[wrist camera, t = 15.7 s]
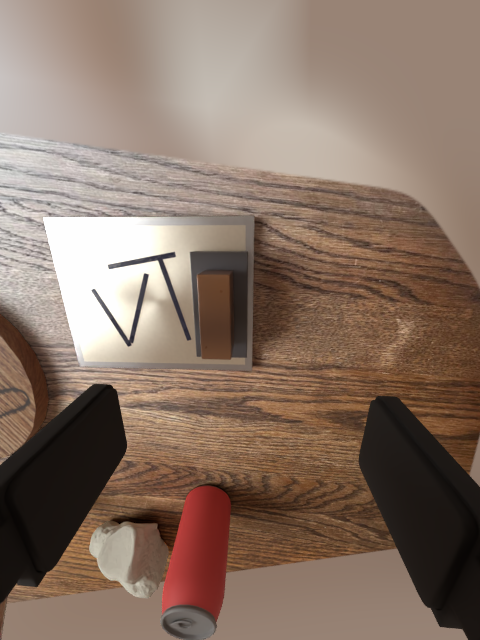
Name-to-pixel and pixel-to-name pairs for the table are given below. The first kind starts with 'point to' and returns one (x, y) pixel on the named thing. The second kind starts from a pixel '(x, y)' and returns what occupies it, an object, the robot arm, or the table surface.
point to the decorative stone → (130, 555)
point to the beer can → (197, 566)
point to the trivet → (19, 390)
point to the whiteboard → (141, 286)
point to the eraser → (220, 303)
